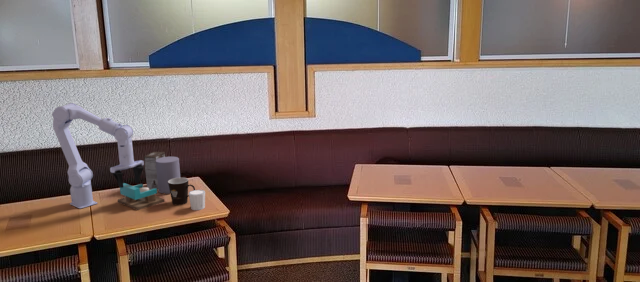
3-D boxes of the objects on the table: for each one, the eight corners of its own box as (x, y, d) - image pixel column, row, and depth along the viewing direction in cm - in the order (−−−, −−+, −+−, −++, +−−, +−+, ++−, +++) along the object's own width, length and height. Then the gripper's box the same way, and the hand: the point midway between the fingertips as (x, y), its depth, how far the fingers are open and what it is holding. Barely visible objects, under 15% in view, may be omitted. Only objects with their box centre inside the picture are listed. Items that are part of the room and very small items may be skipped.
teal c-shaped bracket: (141, 187, 236) (140, 178, 235) (157, 193, 229) (156, 183, 228) (120, 194, 229) (119, 184, 228) (135, 199, 221) (134, 189, 220)
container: (154, 193, 240) (151, 162, 237) (164, 186, 250) (161, 156, 247) (176, 194, 239) (173, 162, 235) (184, 187, 249) (182, 156, 245)
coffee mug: (166, 202, 229) (164, 180, 226) (183, 197, 235) (181, 176, 232) (180, 209, 221) (178, 186, 218) (197, 203, 226) (196, 181, 224)
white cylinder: (186, 208, 221) (184, 193, 219) (198, 203, 227) (197, 188, 225) (197, 211, 217) (196, 195, 216) (209, 206, 223) (208, 191, 221)
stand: (144, 194, 240) (142, 182, 239) (164, 201, 230) (163, 189, 229) (117, 202, 230) (116, 190, 229) (137, 210, 220) (136, 197, 219)
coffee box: (156, 183, 256) (153, 151, 252) (168, 183, 255) (165, 151, 251) (146, 189, 247) (143, 156, 243) (159, 189, 246) (156, 156, 242)
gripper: (114, 159, 214) (118, 191, 217) (146, 152, 224) (149, 182, 228) (106, 156, 218) (109, 187, 221) (137, 149, 229) (140, 179, 232)
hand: (129, 184), depth 225 cm, fingers open, 7 cm apart
